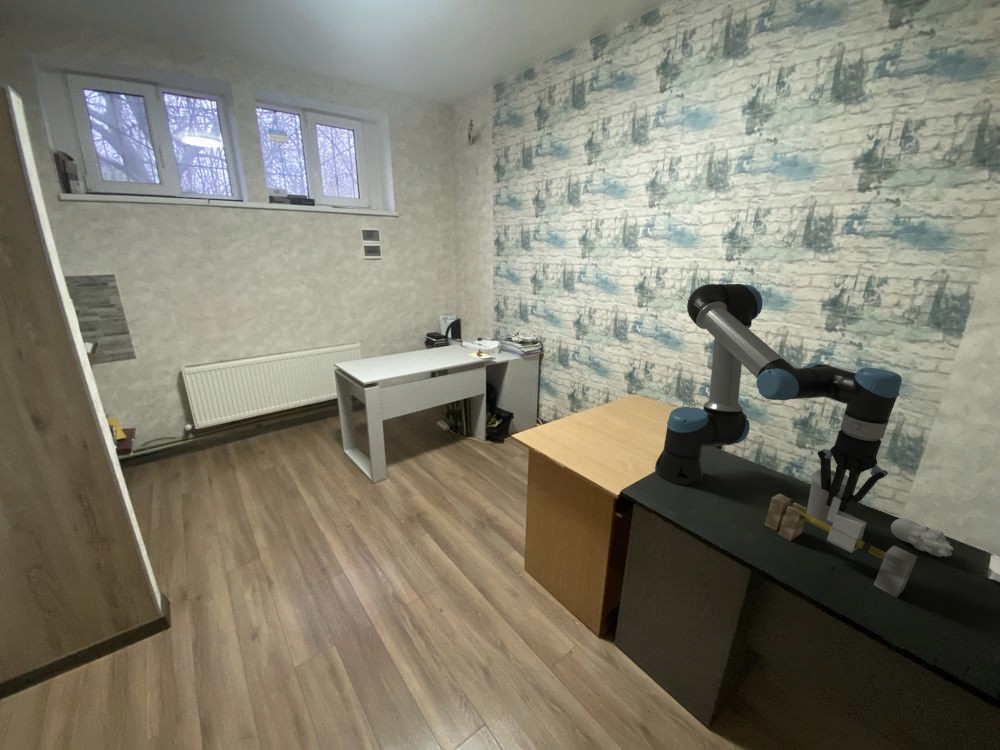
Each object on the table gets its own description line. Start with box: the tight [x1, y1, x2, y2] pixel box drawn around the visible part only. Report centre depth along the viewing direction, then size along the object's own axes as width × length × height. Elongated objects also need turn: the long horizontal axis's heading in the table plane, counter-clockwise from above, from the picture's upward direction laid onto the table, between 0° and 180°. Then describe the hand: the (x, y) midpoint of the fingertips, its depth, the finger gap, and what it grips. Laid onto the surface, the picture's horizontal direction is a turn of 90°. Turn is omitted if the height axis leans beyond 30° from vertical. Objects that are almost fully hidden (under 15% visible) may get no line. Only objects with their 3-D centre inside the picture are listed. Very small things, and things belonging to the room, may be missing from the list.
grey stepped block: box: [826, 512, 868, 554], centre depth 95 cm, size 5×4×7 cm
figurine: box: [890, 518, 955, 558], centre depth 102 cm, size 7×7×12 cm
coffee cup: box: [806, 468, 856, 529], centre depth 109 cm, size 10×10×15 cm
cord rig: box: [764, 493, 918, 599], centre depth 98 cm, size 28×6×10 cm, turn 30°
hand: (832, 519), depth 97 cm, fingers closed
